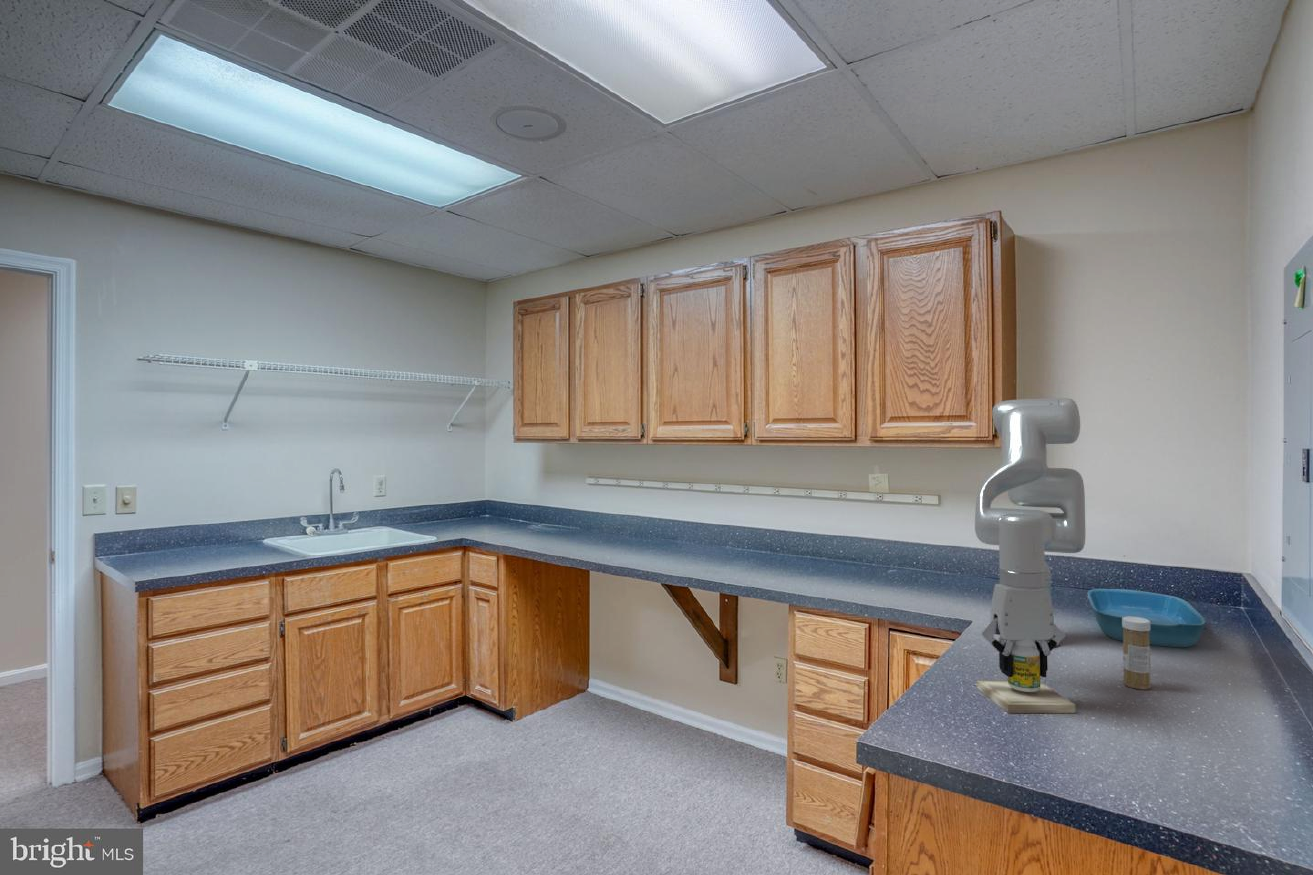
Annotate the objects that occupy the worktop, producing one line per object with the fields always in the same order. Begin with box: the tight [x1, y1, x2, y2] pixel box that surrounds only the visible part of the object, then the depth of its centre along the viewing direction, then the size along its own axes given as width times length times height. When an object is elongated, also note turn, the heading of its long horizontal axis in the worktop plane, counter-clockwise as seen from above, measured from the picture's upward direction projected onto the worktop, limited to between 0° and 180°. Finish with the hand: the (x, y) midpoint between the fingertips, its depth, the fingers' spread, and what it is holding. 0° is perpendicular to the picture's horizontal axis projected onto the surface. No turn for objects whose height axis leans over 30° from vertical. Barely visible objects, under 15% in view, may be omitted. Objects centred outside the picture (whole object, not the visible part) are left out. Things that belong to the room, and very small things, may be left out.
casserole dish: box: [1087, 588, 1207, 648], centre depth 168 cm, size 37×22×7 cm, turn 151°
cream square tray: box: [976, 679, 1076, 714], centre depth 123 cm, size 12×12×2 cm
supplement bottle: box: [1007, 639, 1041, 692], centre depth 123 cm, size 6×5×10 cm
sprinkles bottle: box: [1122, 616, 1152, 690], centre depth 130 cm, size 5×5×14 cm
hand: (1023, 673), depth 123 cm, fingers closed on supplement bottle, 5 cm apart
